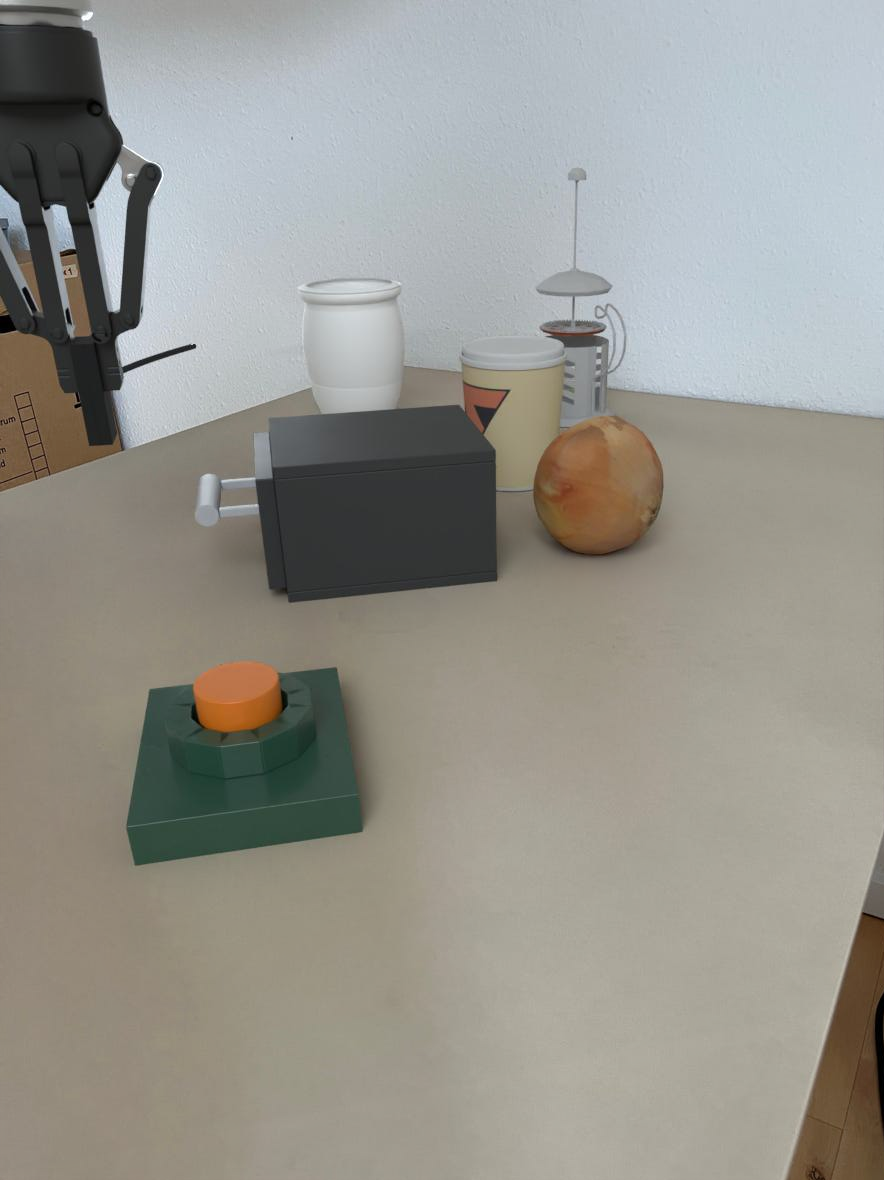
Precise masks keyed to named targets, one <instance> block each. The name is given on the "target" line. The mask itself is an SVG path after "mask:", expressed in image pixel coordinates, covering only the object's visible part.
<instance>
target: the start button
mask: <svg viewBox="0 0 884 1180" xmlns="http://www.w3.org/2000/svg"><path fill="white" fill-rule="evenodd" d="M277 672H278V671H277V670H276V669H275V668H274V667H273V666H271V665H269V664H266V663H264V662H260V661H254V660H253V661H251V660H242V661H232V662H227V663H223V664H219V665H217V666H214V667H212V668H210V669H208V670H206V671H204V672H203V673H201V674H200V675H199V676H198V677H197V678H196V679H195V680H194V683H193V684H194V685H193V692H194V698H195V703H196V709H197V714H198V719H199V722H200V724H201V725H202V726H203V727H204V728H206V729H210V730H216V731H222V732H232V731H240V730H248V729H254V728H256V727H259V726H261V725H263V724H266V723H268V722H270V721H273V720H275V719H276V718H277V717H278V716H279V715H280V714H281V711H282V707H283V705H282V697H281V690H280V682H279V675H278V673H279V672H278V673H277Z"/></svg>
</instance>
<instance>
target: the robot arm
mask: <svg viewBox="0 0 884 1180" xmlns="http://www.w3.org/2000/svg"><path fill="white" fill-rule="evenodd" d="M93 15H94V13H93V5H92V0H0V187H1V188H2V189H3V190H4V191H5V193H7V194H8V195H9V197H10V198H11V199H13V200H14V201H15V202H16V203H17V204H18V207H19V211H20V216H21V221H22V223H23V226H24V228H25V232H26V237H27V241H28V247H29V252H30V256H31V261H32V266H33V270H34V275H35V281H36V285H37V290H38V295H39V299H40V300H39V301H40V306H41V309H42V312H41V311H40V309H39V307H38V304H37V303H36V301H35V298H34V296H33V293H32V291H31V290H30V287H29V286H28V284H27V281H26V279H25V276H24V274H23V271H22V270H21V268H20V266H19V264H18V262H17V259H16V258H15V255H14V253H13V251H12V248H11V246H10V244H9V242H8V240H7V238H6V236H5V233H4V231H3V229H2V227H1V226H0V298H1V300H2V301H1V302H3V305H4V307H5V309H6V312H7V314H8V315H9V317H10V319H11V322H12V324H13V325H14V328H15V329H16V331H18V332H19V333H20V334H23V335H32V336H36V337H39V338H42V339H44V340H45V341H47V342H48V343H49V345H50V346H51V350H52V354H53V359H54V360H53V361H54V364H55V369H56V375H57V380H58V384H59V387H60V388H61V390H62V391H63V393H64V394H78V397H79V402H80V407H81V412H82V418H83V422H84V427H85V433H86V436H87V442H88V446H89V447H98V446H99V447H101V446H113V445H114V443H115V440H116V437H117V435H118V429H117V424H116V417H115V412H114V407H113V403H112V397H111V391H112V392H113V391H115V392H116V391H121V389H122V386H123V384H124V383H123V382H124V378H125V376H124V374H126V373H128V372H130V371H134V370H136V369H138V368H140V367H142V366H145V365H148V364H151V363H155V362H157V361H160V360H163V359H166V358H170V357H172V356H176V355H178V354H181V353H186V352H189V351H192V350H195V349H197V344H196V343H195V344H193V345H191V344H192V343H189V344H186V345H182V346H179V347H175V348H172V349H169V350H166V351H162V352H159V353H156V354H153V355H149V356H147V357H145V358H141V359H139V360H136V361H133V362H130V363H128V364H125V365H123V363H122V360H121V359H122V358H121V353H120V348H119V342H118V338H119V336H120V335H122V334H124V333H126V332H129V331H133V330H135V329H136V328H137V327H139V325H140V324H141V321H142V319H143V316H144V303H145V302H144V301H145V292H146V280H147V279H146V278H147V266H148V265H147V264H148V253H149V239H150V229H151V214H152V205H153V204H152V203H153V201H154V199H155V197H156V194H157V193H158V191H159V188H160V186H161V185H162V182H163V180H164V176H165V170H164V167H163V166H162V165H161V163H159V162H157V161H154V160H153V161H150V160H148V159H146V158H145V157H143V156H141V155H140V154H138V153H137V152H135V151H134V150H133V149H131V148H129V147H127V145H124V139H123V136H122V133H121V131H120V130H119V127H117V125H116V124H115V122H114V120H113V117H112V116H111V113H110V109H109V103H108V98H107V89H106V86H105V80H104V72H103V66H102V61H101V54H100V48H99V43H98V41H99V40H98V38H97V37H96V36H94V34H93V32H92V30H88V29H85V25H84V21H87V20H90V19H91V18H92V16H93ZM117 164H118V166H119V167H120V170H121V185H122V186H123V188H124V189H125V190H127V191H128V192H129V195H128V199H127V204H126V214H125V229H124V242H123V256H122V257H123V258H122V271H121V272H122V273H121V286H120V287H121V288H120V299H119V300H120V302H119V308H118V309H116V310H114V307H113V302H112V296H111V292H110V291H111V290H110V287H109V286H110V284H109V279H108V274H107V269H106V262H105V256H104V252H103V245H102V241H101V235H100V229H99V224H98V212H97V207H96V201H97V200H98V199H99V197H100V196H101V194H102V192H103V191H104V189H105V186H106V184H107V183H108V181H109V179H110V177H111V176H112V173H113V171H114V170H115V169H114V168H115V167H116V165H117ZM54 205H56V206H60V207H64V208H65V210H66V215H67V220H68V223H69V226H70V228H71V233H72V239H73V245H74V249H75V253H76V260H77V264H78V269H79V275H80V280H81V285H82V286H81V287H82V291H83V296H84V302H85V305H86V311H87V316H88V323H89V328H90V334H89V335H85V336H84V335H83V336H82V335H81V336H75V334H74V331H75V329H76V323H75V324H74V321H73V316H72V312H71V306H70V301H69V295H68V291H67V285H66V279H65V275H64V270H63V264H62V259H61V254H60V250H59V249H60V248H59V243H58V239H57V238H58V237H57V234H56V228H55V220H54V219H55V217H54V210H53V206H54Z"/></svg>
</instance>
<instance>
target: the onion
mask: <svg viewBox="0 0 884 1180" xmlns="http://www.w3.org/2000/svg"><path fill="white" fill-rule="evenodd" d="M664 483H665V481H664V469H663V465H662V462H661V460H660V457H659V455H658V453H657V451H656V449H655V447H654V445H653V443H652V442H651V440H650V438H648V436H647V435H646V433H644V432H643V430H641V429H640V428H639V427H637V426H635V425H634V424H632V423H630V422H628V421H627V420H626V419H624V418H621V417H620V416H617V415H615V416H598V417H593V418H590V419H588V420H585V421H582V422H580V423H577V424H575V425H573V426H571V427H567V428H566V429H565V430H563V432H561V433H559V435H558V436H557V437H556V438H555V439H554V440H553V441H552V442H551V443H550V444H549V446H548V447H547V448H546V450H545V451H544V453H543V455H542V457H541V459H540V461H539V463H538V466H537V470H536V473H535V478H534V488H533V490H532V491H533V492H532V493H533V494H532V496H533V504H534V508H535V512H536V515H537V517H538V518H539V520H540V522H541V523H542V525H543V527H544V528H545V530H547V532H548V533H549V534H550V535H551V536H552V537H553V538H554V539H555V540H557V542H559V543H560V544H561V545H563V547H565V548H568V549H569V550H571V551H572V552H575V553H580V554H585V555H586V556H587V555H590V556H591V555H604V554H608V553H612V552H615V551H618V550H622V549H623V548H624V549H625V548H627V547H628V546H631V545H633V544H634V543H635V542H637V541H638V540H640V539H641V538H642V537H643V536H644V535H645V534H646V533H647V532H648V530H649V529H650V528H651V527H652V526H653V525H654V523H655V522H656V520H657V518H658V515H659V512H660V510H661V507H662V506H661V505H662V502H663V497H664V487H665V486H664Z"/></svg>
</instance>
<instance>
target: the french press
mask: <svg viewBox="0 0 884 1180" xmlns="http://www.w3.org/2000/svg"><path fill="white" fill-rule="evenodd" d="M586 180H587V172H586V170H584V169H583V168H582V167H577V166H576V167H574V168H571V169H570V171H569V172H568V173H567V181H574V183H575V186H574V187H575V188H574V189H575V191H574V225H573V226H574V228H573V229H574V231H573V265H572V266H573V267H572V268H571V269H569V270H567V271H560V272H557V273H554V274H552V275H551V276H548V277H546V278H545V279H543V280H542V281H540V283H538V284H537V285H536V286H535V290H536V292H537V293H538V294H541V295H544V296H552V297H565V298H566V297H570V298H571V297H572V301H571V302H572V305H571V306H572V307H571V318H570V319H569V320H568V319H558V320H557V319H556V320H552V321H551V320H550V321H546V322H543V323H542V324H541V325H540V326H539V329H540V330H541V331H542V333H545V334H548V335H545V336H544V337H548V338H553V339H556V340H559V341H561V342H562V343H563V344H564V350H566V352H567V360H566V361H565V370H564V384H563V397H562V408H561V419H560V428H570V427H571V426H573V425H575V424H577V423H580V422H582V421H585V420H588V419H590V418H593V417H598V416H616V414H614V412H613V411H612V410H611V409H610V408H609V407H608V406H607V394H608V375H610V374H612V373H614V372H615V371H616V370H617V369H619V367H620V366H621V364H622V361H623V360H624V359H625V358H624V357H625V355H626V349H627V329H626V325H625V322H624V319H623V315H622V314H621V313H620V311H619V310H618V309H617V308H616V307H615V306H614V305H613V304H612V303H609V302H607V303H606V304H605V305H604V307H603V306H602V305H600V304H597V305H595V306H594V317H595V319H597V320H600V319H604V318H605V317H606V318H607V319H608V321H609V324H610V328H611V330H612V335H613V336H612V353H611V357H610V360H609V352H610V351H609V349H610V348H609V347H610V340H609V339H608V338H607V337H604V336H601V335H599V334H601V333H603V332H605V330H606V329H607V325H606V324H605V323H603V322H600V321H597V320H588V319H587V320H586V319H583V318H582V319H581V320H580V319H578V320H577V319H575V308H576V307H575V305H576V304H575V303H576V302H575V300H576V298H577V297H592V296H601V295H605V294H608V293H610V291H611V290H612V289H613V287H614V285H612V284H611V283H610V282H609V281H608V280H607V279H606V278H604V276H601V275H598V274H597V273H594V272H588V271H584V270H580V269H579V268H576V264H577V261H576V259H577V225H578V223H577V221H578V186H579V185H578V183H579V182H580V181H586ZM609 307H610V308H611V309H612V310H613V311H615V313H616V315H617V317H618V318H619V321H620V323H621V326H622V331H623V335H624V337H623V346H622V352H621V357H620V359H619V361H618V363H617V364H616V365H615V367H614V368H613V369H610V368H611V366H612V363H613V361H614V358H615V354H616V349H617V347H616V343H617V342H616V341H617V340H616V339H617V334H616V330H615V326H614V323H613V321H612V318H611V317H610V315H609V313H608V310H609V309H608V308H609ZM598 309H600V311H601V312H603V314H602V315H599V316H598ZM598 348H601V352H597V351H598V350H597V349H598ZM597 360H600V363H599V364H598V363H597ZM573 367H574V368H573ZM598 371H600V373H597V372H598ZM572 379H574V380H572ZM596 383H599V386H596ZM569 390H573V392H571V391H569Z"/></svg>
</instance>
